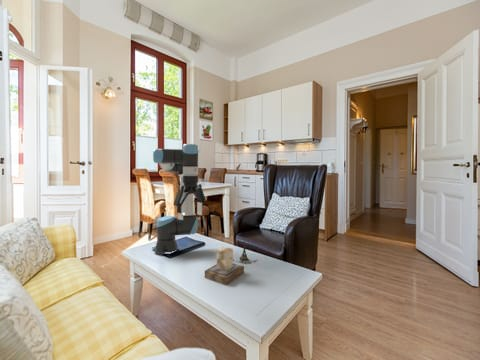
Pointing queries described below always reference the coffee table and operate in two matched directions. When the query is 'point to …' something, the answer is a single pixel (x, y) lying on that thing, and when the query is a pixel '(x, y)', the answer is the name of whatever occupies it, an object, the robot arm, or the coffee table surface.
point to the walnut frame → (224, 274)
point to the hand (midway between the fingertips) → (190, 217)
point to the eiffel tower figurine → (244, 257)
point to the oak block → (224, 258)
